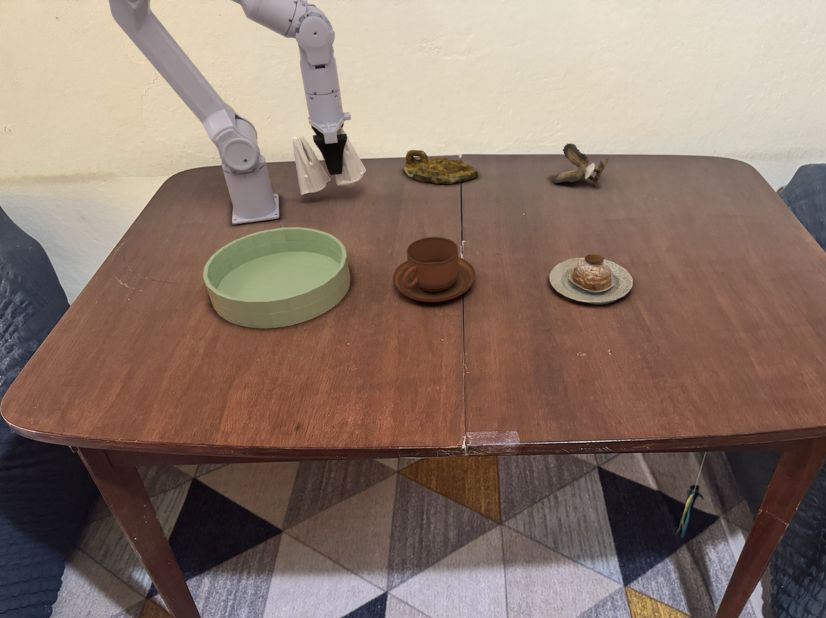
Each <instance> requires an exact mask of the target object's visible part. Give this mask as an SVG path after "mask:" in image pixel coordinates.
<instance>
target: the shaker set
mask: <svg viewBox="0 0 826 618" xmlns="http://www.w3.org/2000/svg"><path fill="white" fill-rule="evenodd" d="M338 134H347V133H346V131H345V129H344V128H343V129H342V127H340V128H339V130H338V133H337V135H338ZM292 147H293V155H294V161H295V169H296V175H297V181H298V188H299V193H300V195H301V196H303V195H304V194H308V193H316V192H320V191H321V190H323V189H325V188H326V187H327V183H329V182H331V178H330V177H329V175H328V173H327V170H325V168H324V166H323V164H322V163H321V162H320V160H319V158H318V156H317V155H316V153H315V152H314V150H313V149H312V147H311V146H310V144H309V142H308V141H307V140H306V138H305V137H304V136H303V135H299V139H298V137H297V136H294V137H292ZM366 172H367V168H366V167H365V165H364V164H363V162H362V160H361V158H360V156H359V155H358V153H357V151H356V149H355V147H354V145H353V144H352V142H351V140H350V139H349V137H348V136H347V142H346V144H345V147H344V152H343V169H342V174H337V175H334V176H335V183H336V185H337V186H340V187H346V188H349V189H350V188H355V187H357V186H359V185H360V184H361V182H362V180H363V177H364V175H365V173H366Z"/></svg>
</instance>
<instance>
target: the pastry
mask: <svg viewBox="0 0 826 618" xmlns="http://www.w3.org/2000/svg"><path fill="white" fill-rule="evenodd" d="M548 278H549V283H550V285H551V286H552V288H553V289H554V290H555V291H556V293H558V294H560V295H562V296H564V297H566V298H568V299H571V300H574V301H577V302H582V303H588V304H591V305H594V306H597V305H598V306H600V305H601V306H603V305H608V304H612V303H615V302H616V301H618V300H619V299H624V297H626V296H627V295H628V293H629V292H630V291H631V290H632V288H633V286H634V281H633V277H632V275H631V273H629V271H628V270H627V269H626V268H624V267H623V266H621V265H620V264H619V263H616V262H614V261H612V260H608V259H605V257H604V256H603V255H602V254H598V253H591V254H590V253H589V254H587V255H585V256H584V257H573V258H568V259H566V260H563V261H561V262H560V263H558V264H555V266H553V268H552V269H551V270H550V272H549V275H548Z"/></svg>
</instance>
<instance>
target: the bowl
mask: <svg viewBox="0 0 826 618" xmlns="http://www.w3.org/2000/svg"><path fill="white" fill-rule="evenodd" d="M349 267H350V266H349V261H348V254H347V250H346V246H345V245H344V244H343V243H342V241H341V240H340V239H339V238H338V237H336V236H334V235H332V234H331V233H329V232H326V231H322V230H319V229H315V228H310V227H309V228H308V227H301V226H300V227H299V226H297V227H296V226H295V227H292V226H291V227H287V226H286V227H278V228H270V229H265V230H261V231H260V230H259V231H257V232H252V233H249V234H246V235H244V236H242V237H238V238H237V239H234V240H231V242H229V243H227V244H225V245H223V246H222V247H220V248H219V249H218V250H216V251H215V252H214V253H213V254H212V255H211V256H210V257H209V259H208V260H207V262H206V263H205V265H204V267H203V273H202V279H203V282H204V285H205V289H206V291H207V294H208V296H209V299H210V302H211V305H212V307H213V309H214V311H215V312H216V313H217V315H219V316H220V317H221V318H222V319H223V320H225V321H226V322H229V323H231V324H233V325H237V326H240V327H245V328H251V329H276V328H284V327H290V326H294V325H298V324H301V323H305V322H308V321H310V320H313V319H315V318H317V317H320V316H322V315H323V314H325V313H327V312H329V311H330V310H331V309H333V308H334V307H335V306H337V305H338V304H340V302H341V301H342V300H343V299H344V297H345V296H346V295H347V293H348V291H349V289H350V287H351V286H350V285H351V279H352V278H351V272H350V268H349Z"/></svg>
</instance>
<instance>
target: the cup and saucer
mask: <svg viewBox="0 0 826 618" xmlns="http://www.w3.org/2000/svg"><path fill="white" fill-rule="evenodd" d="M458 246H459V245H457V243H456V242H454V241H453V240H452V239H449V238H446V237H441V236H430V237H429V236H428V237H422V238H420V239H417V240H415V241H413V242H411V243H410V244H409V245H408V246H407V248H406V259H407V260H406V261H404V262H402V263H401V264H399V265H398V266H397V268H396V269H395V271H394V272H393V275H392V281H393V284H394V286H395V288H396V289H397V291H398V292H399V293H400V294H402V295H403V296H406V298H409V299H410V300H411V299H412V300H415V301H418V302H423V303H424V302H425V303H440V302H446V301H450V300H453V299H455V298H458V297H459V296H461V295H463V294H465V293H466V292H467V291H468V290H470V289H471V288H472V286H473V284H474V282H475V279H476V271H475V268H474V267H473V265H472V264H471V263H470V262H469V261H467V260H466V259H464V258H462V257H459V247H458Z"/></svg>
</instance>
